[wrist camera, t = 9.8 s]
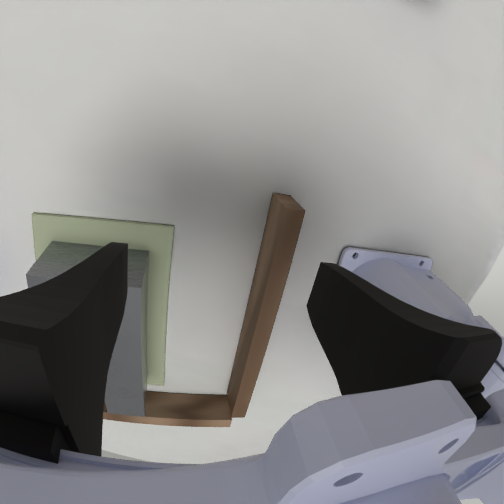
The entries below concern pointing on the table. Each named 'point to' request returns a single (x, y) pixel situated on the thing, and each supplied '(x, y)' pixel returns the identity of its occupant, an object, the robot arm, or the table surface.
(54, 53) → the table surface
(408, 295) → the robot arm
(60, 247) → the bracket
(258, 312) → the corner walls
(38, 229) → the mat
